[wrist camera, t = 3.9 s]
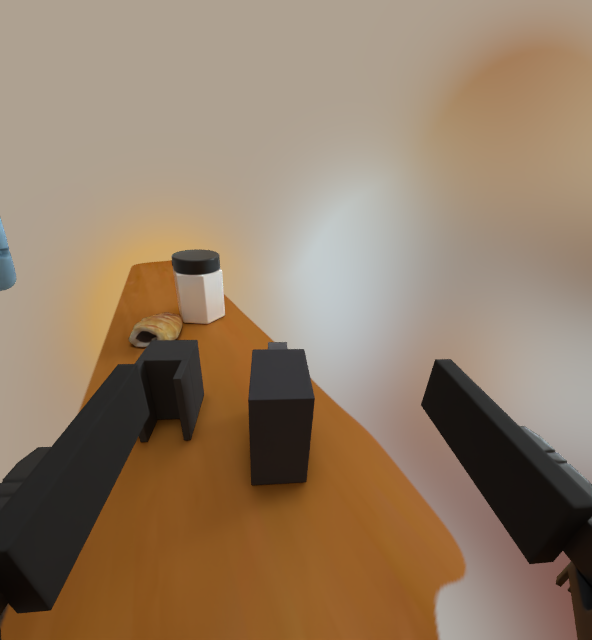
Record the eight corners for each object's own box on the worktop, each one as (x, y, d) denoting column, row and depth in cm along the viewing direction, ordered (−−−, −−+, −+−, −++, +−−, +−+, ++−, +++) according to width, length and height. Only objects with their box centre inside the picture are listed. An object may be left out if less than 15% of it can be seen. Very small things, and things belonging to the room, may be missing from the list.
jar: (205, 302, 61) (199, 247, 56) (233, 312, 58) (230, 253, 52) (169, 317, 54) (158, 255, 49) (199, 329, 51) (191, 263, 45)
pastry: (157, 321, 53) (153, 302, 51) (192, 324, 52) (190, 305, 51) (126, 348, 44) (121, 326, 42) (169, 351, 44) (165, 329, 42)
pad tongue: (306, 482, 26) (314, 398, 21) (251, 485, 25) (248, 400, 21) (296, 404, 35) (300, 334, 30) (255, 405, 34) (253, 334, 30)
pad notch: (190, 440, 29) (180, 378, 26) (140, 442, 29) (123, 379, 25) (204, 394, 36) (197, 339, 32) (162, 395, 35) (151, 340, 32)
